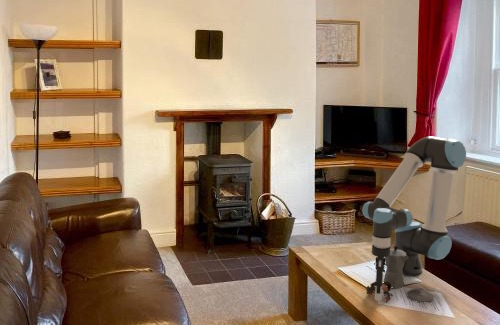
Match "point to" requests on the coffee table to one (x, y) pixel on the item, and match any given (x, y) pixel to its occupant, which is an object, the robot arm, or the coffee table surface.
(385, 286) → the pottery mug
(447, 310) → the coffee table surface
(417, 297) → the disc
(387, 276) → the coffeepot
